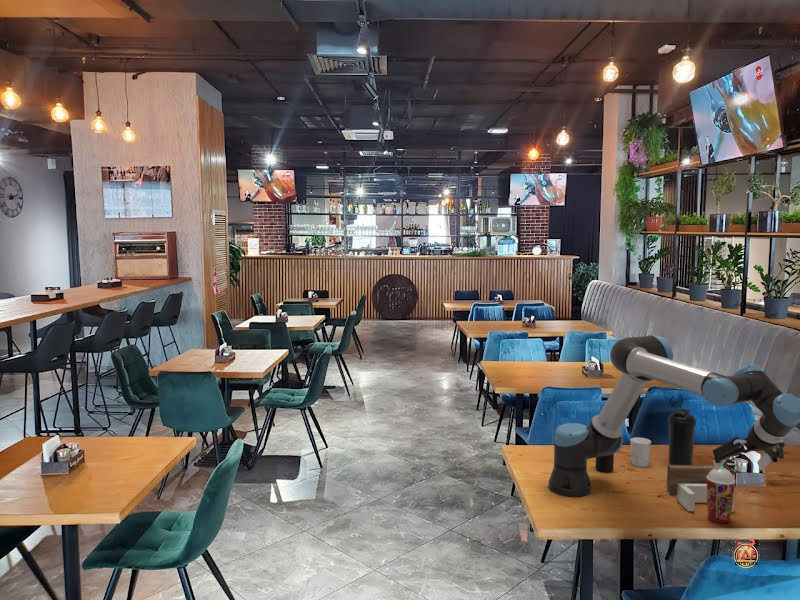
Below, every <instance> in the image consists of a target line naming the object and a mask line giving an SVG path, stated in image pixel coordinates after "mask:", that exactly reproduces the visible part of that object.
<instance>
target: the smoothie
mask: <svg viewBox="0 0 800 600" xmlns="http://www.w3.org/2000/svg"><path fill="white" fill-rule="evenodd" d="M706 478H707V503H706V504H707V505H706V510H707V511H706V512H707V515H708V519H710V520H711V521H712V522H715V521H716V522H715V523H719V522H722V523H721V524H725V522H727V523H729V521H730V520H731V518H732V517H731V516H732V512H731V511H732V503H733V495H734V496H735V484H736V480H735V478H734V476H733V473H732V472H730V471H729V470H728V469H726V468H725V467H723V465H722V466H721V467H720V468H719V469H718V470H715V468H714V469H712V470H711V471H710V472H709V474H708V475H707V476H706Z"/></svg>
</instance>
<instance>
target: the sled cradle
mask: <svg viewBox="0 0 800 600" xmlns="http://www.w3.org/2000/svg"><path fill="white" fill-rule="evenodd" d="M676 501H677V502H679V504H680V505H681V506H683V507H684V508H685V510H686V511H688V512H695V506H696V505H695V504H696V503H697V504H698V503H699V504H701V503H703V504H707V484H678V490H677V495H676ZM734 507H735V494H734V495H733V503H732V511H731V513H733V512H734V509H735V508H734Z"/></svg>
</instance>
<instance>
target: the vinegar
mask: <svg viewBox="0 0 800 600" xmlns="http://www.w3.org/2000/svg"><path fill="white" fill-rule="evenodd" d="M614 459H615V453H614V454H612V455H608V456H601V457H596V458H595V470H596V471H597V472H600V473H605V474H609V473H612V472H614V461H615V460H614Z"/></svg>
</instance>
